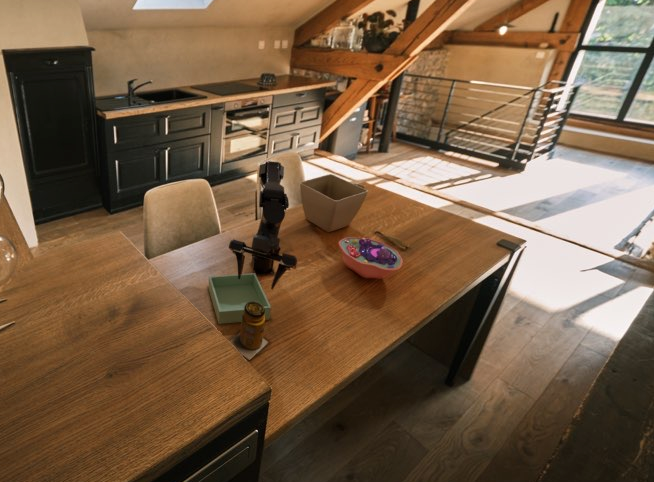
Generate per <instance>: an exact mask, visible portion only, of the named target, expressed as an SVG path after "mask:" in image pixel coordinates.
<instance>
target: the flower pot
mask: <svg viewBox="0 0 654 482" xmlns="http://www.w3.org/2000/svg"><path fill="white" fill-rule="evenodd" d="M299 192H300V199H301V205H302V210H303V213H304V217H305V219H306V221H309V222H310V223H312V224H313V225H315V226H317V227H318V228H319V229H321V230H323V231H324V232H327V233H331V232H333V231H337V230H340V229H342V228H345V227H348V226H350V224H351V223H352V222H353V221H354V219H355V218H356V216H357V214H358V213H359V211H360V210H361V208H362V205H363V204H364V203H365V202H364V201H365V200H366V197H367V196H368V193H369V190H368V189H366V188H364V187H362V186H360V185H357V184H355V183H353V182H350V181H348V180H346V179H344V178H341V177H339V176H337V175H335V174H331V173H329V174H324V175H322V176H321V175H320V176H318V177H314V178H310V179H306V180H303V181H300V182H299Z"/></svg>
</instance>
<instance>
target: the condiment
mask: <svg viewBox="0 0 654 482" xmlns="http://www.w3.org/2000/svg"><path fill="white" fill-rule="evenodd" d="M264 313H265V309H264V307H263V306H262V305H261V304H260V303H258V302H248V303H247V304H246V305H245V307H244V312H243V314H242V321H241V322H240V332H239V333H238V334H236V335H235V336H234V337H233V338H232V339H230V340H229V341H230V342H231V343H232V344H233V345H234V346H235V347H236V348H237V349H238V350H239V352H238V353H239V354H240V355H242V356H243V357H244V358H246V359H247V360H248V361H250V360H251V359H252V358H254V357H255V355H256V354H258V353H259V352H260V351H262V349H263V348H264V347H265V346H267V345H268V344H269V341H268V340H266V339H265V338H264V333H265V323H266V320H265V316H264Z"/></svg>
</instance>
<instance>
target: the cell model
mask: <svg viewBox="0 0 654 482" xmlns="http://www.w3.org/2000/svg"><path fill="white" fill-rule="evenodd" d="M338 246H339V250H340V253H341V257H342V262H343V263H344V266H346V267H347V268H348V269H349V270H351V271H353V272H354V273H356V274H357V275H358V276H360V277H362V278H364V279H377V280H381V279H384V278H386V277H388V276H391V275H392V274H393V273H395V272H396V271H398V270H400V269H401V267H402V266H403V263H404V260H403V258H402V256H401V255H400V253H399V252H398V250H396V249H395V248H394V247H392V246H390V245H388V244H386V243H384V242H382V241H379V240H377V239H373V238H369V237H362V236H361V237H359V236H346V237H344V238H342V239H340V240H338Z"/></svg>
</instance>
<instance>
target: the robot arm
mask: <svg viewBox="0 0 654 482" xmlns="http://www.w3.org/2000/svg"><path fill="white" fill-rule="evenodd" d="M258 169H259V170H258V178H259V184H260V186H261V188H262V190H260V191H259V197H258V198H259V199H258V207H259V208H261V209H262V210H261V211H262V212H261V217H260V222H259V226H258V229H257V232H256V234H255V235H253V237H252V242H251V246H248V245H247V243H246V242H244V241H240V240H237V239H232V240H230V241H229V244H228V249H229V250H230V251H231V252H232V254H233V255H234V256H235V257H236V264H237V274H238V279H240V278H241V275H242V274H243V269H244V264H245V259H246V255H245V253H246V254H250V255H251V263H250V266H251V268H252V270H253V272H254V273H255V274H256V276H260V275H261V276H264V275H266V276H267V275H274V277H273V280H272V282H271V287H270V290H272V291H273V290H274V288H275V287H276V285H277V284H278V283H279V280H280V279H281V277H283V275H284V274H285V273H286V272H287V271H289V272H291V269H293V270H296V269H297V265H298V258H297V256H296V255H292V254H290V253H289V254H288V253H286V252H282V254H280V252H281V247H280V243H281V238H280V237H279V234H280V233H279V232H280V229H281V225H282V223H283V221H284V220H285V217H286V212H285V211H287V210H288V209H289V208H290V207H289V206H290V202H289V197H288V195H287V193H285V186H283V185H282V184H281V182H282V180H283V179H284V176H285V166H284V165H282V163H281V162H279V161H271V160H268V161H265V163H262V164H260V165H259V168H258ZM275 261H276V262H279V263H278V265H277V268H276V272H275V270H274V264H275Z"/></svg>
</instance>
